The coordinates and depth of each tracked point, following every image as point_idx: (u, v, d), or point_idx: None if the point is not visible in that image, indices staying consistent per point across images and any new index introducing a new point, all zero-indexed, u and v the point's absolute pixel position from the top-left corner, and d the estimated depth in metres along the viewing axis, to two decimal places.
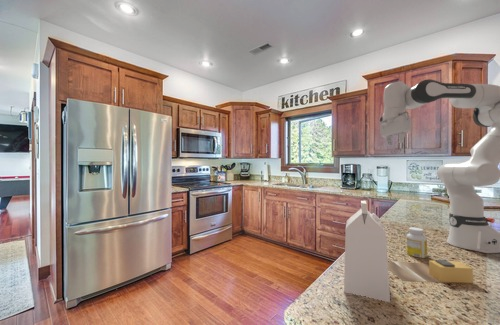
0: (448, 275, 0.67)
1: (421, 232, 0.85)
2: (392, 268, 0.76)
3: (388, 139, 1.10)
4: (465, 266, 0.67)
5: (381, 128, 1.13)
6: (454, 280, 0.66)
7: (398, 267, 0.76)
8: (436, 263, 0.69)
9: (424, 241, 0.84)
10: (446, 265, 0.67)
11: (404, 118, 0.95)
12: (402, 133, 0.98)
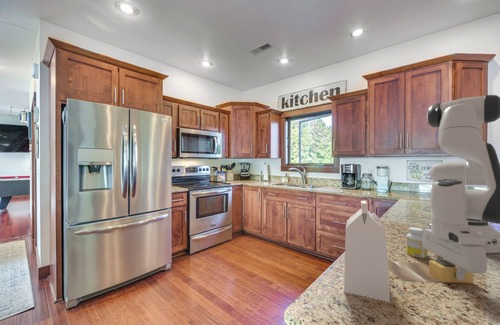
0: (448, 275, 0.67)
1: (421, 232, 0.85)
2: (392, 268, 0.76)
3: None
4: None
5: None
6: (454, 280, 0.66)
7: (398, 267, 0.76)
8: (436, 263, 0.69)
9: None
10: (446, 265, 0.67)
11: None
12: None
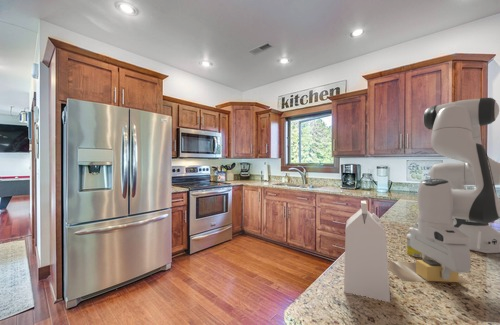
0: (434, 274, 0.67)
1: None
2: (392, 268, 0.76)
3: None
4: None
5: None
6: (440, 279, 0.66)
7: (398, 267, 0.76)
8: (423, 262, 0.70)
9: None
10: (432, 264, 0.67)
11: None
12: None
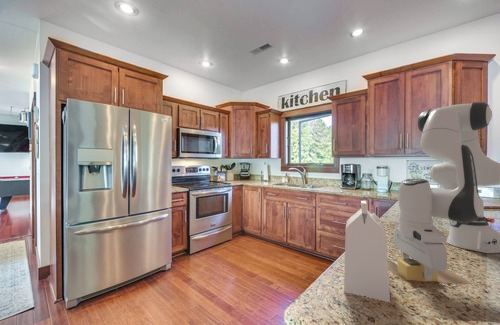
0: (413, 274, 0.68)
1: None
2: (392, 268, 0.76)
3: None
4: None
5: None
6: (419, 279, 0.67)
7: None
8: (403, 262, 0.70)
9: None
10: (412, 264, 0.68)
11: None
12: None
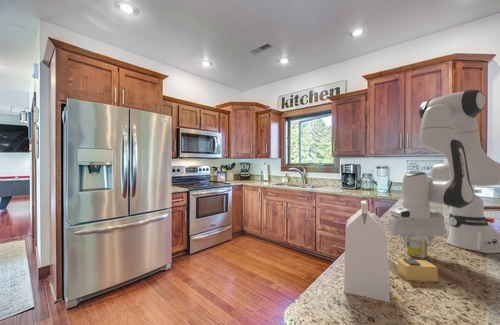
0: (413, 274, 0.68)
1: (421, 232, 0.85)
2: (392, 268, 0.76)
3: None
4: (431, 265, 0.68)
5: (397, 224, 0.86)
6: (419, 279, 0.67)
7: None
8: (403, 262, 0.70)
9: (424, 241, 0.85)
10: (412, 264, 0.68)
11: None
12: None
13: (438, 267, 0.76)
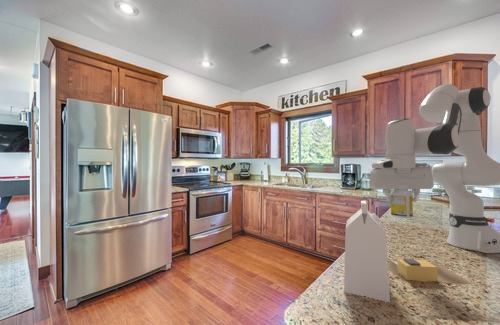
0: (413, 274, 0.68)
1: (406, 187, 0.76)
2: (392, 268, 0.76)
3: None
4: (431, 265, 0.68)
5: (379, 176, 0.77)
6: (419, 279, 0.67)
7: None
8: (403, 262, 0.70)
9: (409, 196, 0.75)
10: (412, 264, 0.68)
11: None
12: None
13: (438, 267, 0.76)
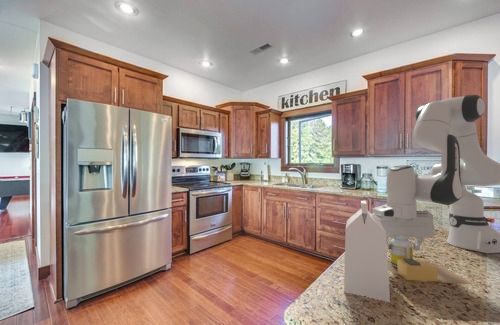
0: (413, 274, 0.68)
1: (406, 237, 0.75)
2: (392, 268, 0.76)
3: None
4: (431, 265, 0.68)
5: None
6: (419, 279, 0.67)
7: None
8: (403, 262, 0.70)
9: (409, 248, 0.74)
10: (412, 264, 0.68)
11: None
12: None
13: (438, 267, 0.76)
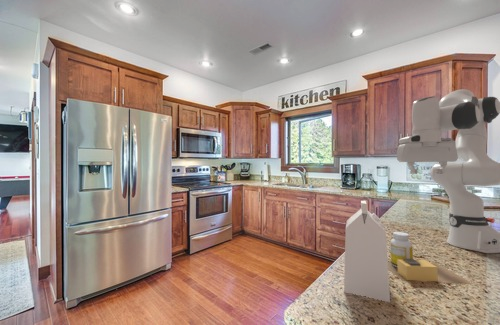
0: (413, 274, 0.68)
1: (406, 237, 0.75)
2: (392, 268, 0.76)
3: None
4: (431, 265, 0.68)
5: (407, 150, 0.83)
6: (419, 279, 0.67)
7: None
8: (403, 262, 0.70)
9: (409, 248, 0.74)
10: (412, 264, 0.68)
11: None
12: None
13: (438, 267, 0.76)
